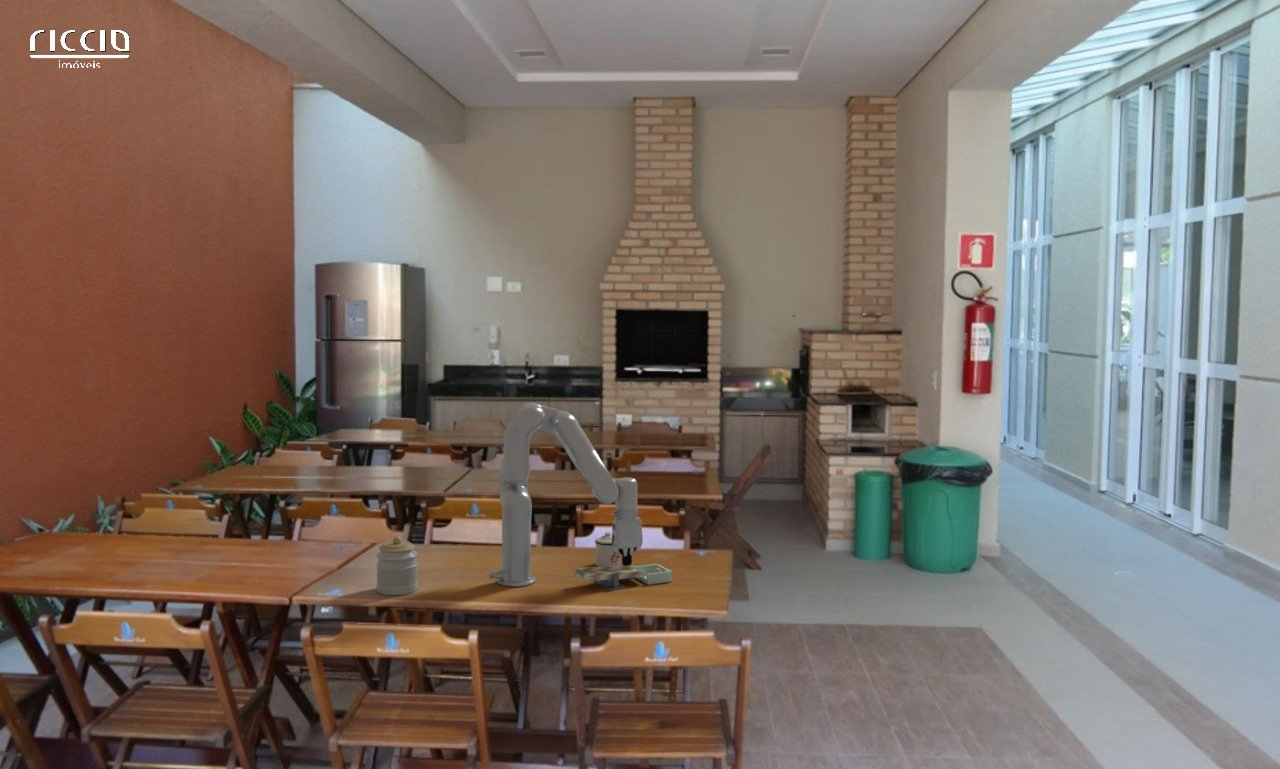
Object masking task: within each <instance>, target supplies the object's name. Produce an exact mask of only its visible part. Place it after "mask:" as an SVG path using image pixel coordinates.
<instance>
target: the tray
mask: <svg viewBox="0 0 1280 769" xmlns="http://www.w3.org/2000/svg"><path fill="white" fill-rule="evenodd" d="M656 568H660V569H661V570H662V572H656V573H653V571H654V569H656ZM635 569H636V570H637V571H645V577H644V578H636V579H637V580H639V581H641V582H643V583H644V584H646V585H648V586H649V585H655V584H663V583H670V582H672V581H673V570H671V569H668V568H666V566H665V567H664V566H662V565H660V564H659V563H651V564H644V565H635Z"/></svg>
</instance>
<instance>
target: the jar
mask: <svg viewBox="0 0 1280 769" xmlns="http://www.w3.org/2000/svg"><path fill="white" fill-rule="evenodd" d="M415 549H416V546H415V544H414V543H411V542H410V541H409V540H402V538H401V537H400V536H397V535H396V536H394V537H393V539H392V540H390V541H389V540H388V541H386V542H384V543H383V544H382V545H380V546H378V550H379V552H377V554H376V555H375V556H376V558H377V563H376V584H375V585H376V590H377V593H379V594H381V595H386V596H402V595H408V594H411V593H412V594H413V593H414V592H417V590H418V585H419V584H418V583H419V582H418V564H419V563H418V562H417V556H418V554H419V553H418V551H417V550H415Z"/></svg>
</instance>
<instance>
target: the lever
mask: <svg viewBox="0 0 1280 769" xmlns="http://www.w3.org/2000/svg"><path fill="white" fill-rule="evenodd" d="M635 566H636V565H635V564H631V565H627V566H623V564H621V565H620V564H619V565H618V566H608V567H599V566H590V567H577V566H576V567H575V568H574V575H575V576H576V577H577V578H579V579H581V581H582V580H583V581H584V582H587V581H590V582H591V581H594V580H609V579H613V575H615V574H618V575H619V580H625V579H637V578H644V577H645V571H637V570H636V569H635Z"/></svg>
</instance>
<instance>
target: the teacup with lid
mask: <svg viewBox="0 0 1280 769" xmlns="http://www.w3.org/2000/svg"><path fill="white" fill-rule="evenodd" d="M594 543H595V565H596V567H608V566H619V565H620V561H621V560H620V558H621V557H620V556H621V554H620V553H619V552H614V551H612V547H613V545H612V532H605V533H604V534H603V535H601V536H600V537H597V538H596V539H595V541H594Z"/></svg>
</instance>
